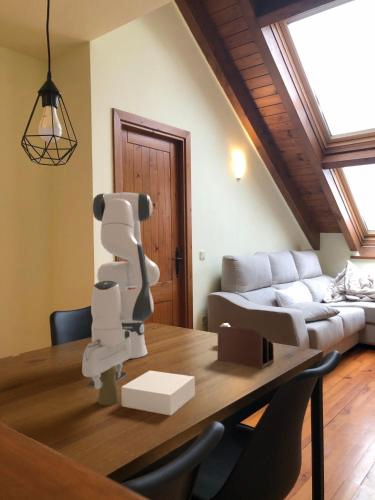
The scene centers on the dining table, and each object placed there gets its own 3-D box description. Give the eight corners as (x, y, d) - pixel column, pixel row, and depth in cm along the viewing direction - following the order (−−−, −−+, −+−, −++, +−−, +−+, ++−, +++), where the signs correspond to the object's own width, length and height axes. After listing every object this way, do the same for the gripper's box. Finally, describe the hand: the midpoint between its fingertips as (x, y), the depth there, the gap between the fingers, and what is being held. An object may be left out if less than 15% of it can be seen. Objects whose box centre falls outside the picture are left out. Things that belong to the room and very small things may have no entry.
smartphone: (85, 384, 136) (109, 370, 150) (85, 387, 136) (109, 372, 150) (105, 386, 134) (128, 372, 148) (105, 389, 134) (128, 374, 148)
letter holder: (262, 369, 151) (261, 330, 151) (217, 360, 163) (216, 324, 163) (274, 362, 159) (273, 325, 159) (230, 354, 171) (229, 320, 171)
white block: (121, 407, 119) (121, 386, 119) (150, 388, 134) (149, 370, 133) (170, 416, 112) (170, 395, 112) (195, 396, 127) (194, 376, 127)
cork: (114, 405, 119) (113, 368, 119) (94, 404, 121) (93, 367, 120) (121, 398, 125) (120, 362, 125) (103, 396, 126) (102, 361, 126)
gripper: (94, 345, 112) (96, 396, 112) (133, 330, 130) (134, 373, 131) (76, 343, 114) (77, 393, 114) (116, 328, 133) (117, 371, 133)
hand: (108, 382), depth 123 cm, fingers open, 8 cm apart
